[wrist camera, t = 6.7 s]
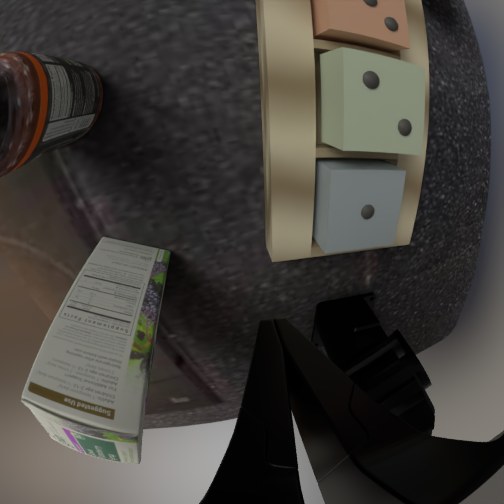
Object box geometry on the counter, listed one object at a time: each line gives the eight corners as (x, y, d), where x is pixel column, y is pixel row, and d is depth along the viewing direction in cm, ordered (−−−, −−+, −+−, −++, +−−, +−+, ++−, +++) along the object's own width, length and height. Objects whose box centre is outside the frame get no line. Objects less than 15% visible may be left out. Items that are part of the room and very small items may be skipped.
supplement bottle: (36, 145, 14) (-73, 205, 4) (42, 69, 11) (-74, 75, 1) (103, 142, 15) (-6, 204, 6) (113, 58, 12) (4, 27, 3)
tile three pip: (384, 51, 13) (410, 48, 11) (311, 38, 13) (330, 28, 10) (377, -10, 10) (401, -20, 8) (304, -27, 10) (321, -45, 7)
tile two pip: (394, 145, 16) (422, 156, 13) (321, 141, 15) (343, 151, 13) (395, 68, 13) (425, 68, 10) (319, 54, 12) (343, 46, 10)
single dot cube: (373, 226, 21) (393, 245, 18) (310, 232, 20) (325, 254, 17) (382, 159, 18) (407, 171, 15) (313, 158, 17) (332, 170, 14)
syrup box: (161, 304, 23) (146, 468, 10) (98, 290, 21) (50, 443, 9) (171, 249, 20) (146, 441, 8) (99, 233, 18) (14, 401, 6)
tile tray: (394, 231, 22) (409, 244, 20) (266, 245, 21) (272, 262, 19) (401, -6, 11) (418, -12, 9) (253, -38, 10) (258, -53, 8)
